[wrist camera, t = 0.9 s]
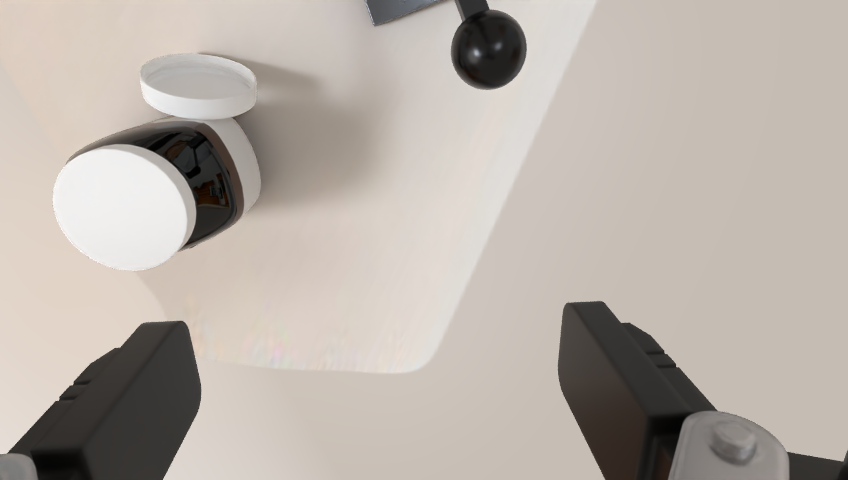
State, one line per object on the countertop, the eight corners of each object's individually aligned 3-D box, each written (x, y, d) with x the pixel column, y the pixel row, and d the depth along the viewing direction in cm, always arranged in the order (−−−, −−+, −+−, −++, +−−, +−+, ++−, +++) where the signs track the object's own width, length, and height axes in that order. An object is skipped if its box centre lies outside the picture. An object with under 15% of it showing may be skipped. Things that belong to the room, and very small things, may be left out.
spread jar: (157, 228, 39) (67, 298, 28) (86, 80, 35) (-51, 96, 24) (305, 188, 39) (272, 245, 28) (251, 34, 35) (187, 29, 24)
